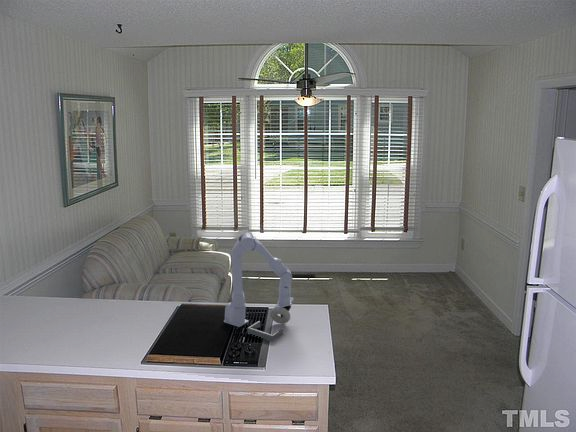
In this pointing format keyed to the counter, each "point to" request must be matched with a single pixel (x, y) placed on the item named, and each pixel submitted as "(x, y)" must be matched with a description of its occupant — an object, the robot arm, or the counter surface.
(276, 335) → the bracket
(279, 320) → the donut
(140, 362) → the counter surface
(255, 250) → the robot arm
